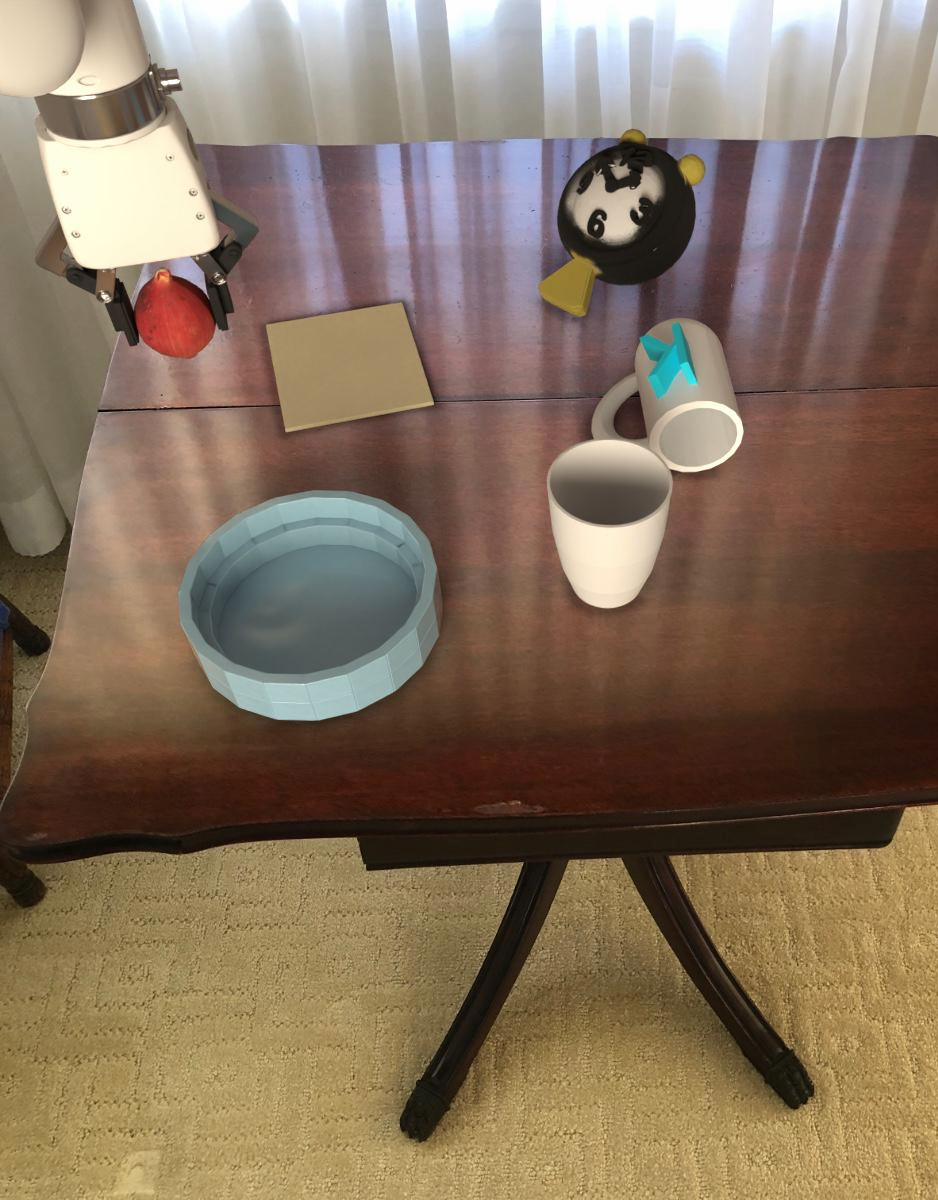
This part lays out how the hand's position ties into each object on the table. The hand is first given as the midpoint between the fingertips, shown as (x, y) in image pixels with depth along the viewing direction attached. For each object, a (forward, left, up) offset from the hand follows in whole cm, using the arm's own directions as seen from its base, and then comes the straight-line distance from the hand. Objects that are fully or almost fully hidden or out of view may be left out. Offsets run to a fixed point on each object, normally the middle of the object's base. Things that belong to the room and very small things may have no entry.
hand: (178, 325), depth 85 cm
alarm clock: (+38, +7, -7) cm, 39 cm away
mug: (+35, -13, -7) cm, 38 cm away
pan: (+6, -26, -7) cm, 28 cm away
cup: (+26, -28, -7) cm, 39 cm away
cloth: (+12, +1, -7) cm, 14 cm away
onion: (0, 0, -3) cm, 3 cm away
